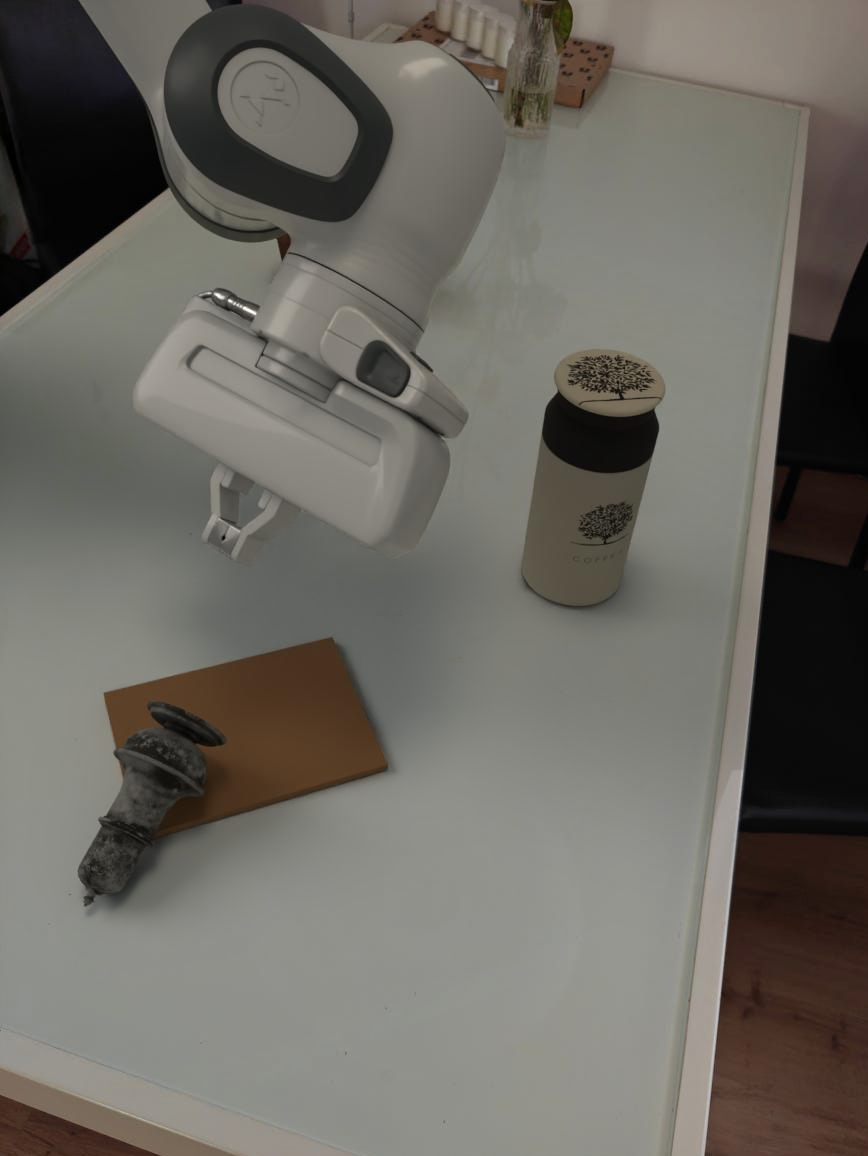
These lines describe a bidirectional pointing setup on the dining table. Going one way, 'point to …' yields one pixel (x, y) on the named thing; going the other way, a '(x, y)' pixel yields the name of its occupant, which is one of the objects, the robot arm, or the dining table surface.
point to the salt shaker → (147, 793)
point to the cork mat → (261, 729)
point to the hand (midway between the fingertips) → (225, 553)
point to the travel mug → (590, 475)
